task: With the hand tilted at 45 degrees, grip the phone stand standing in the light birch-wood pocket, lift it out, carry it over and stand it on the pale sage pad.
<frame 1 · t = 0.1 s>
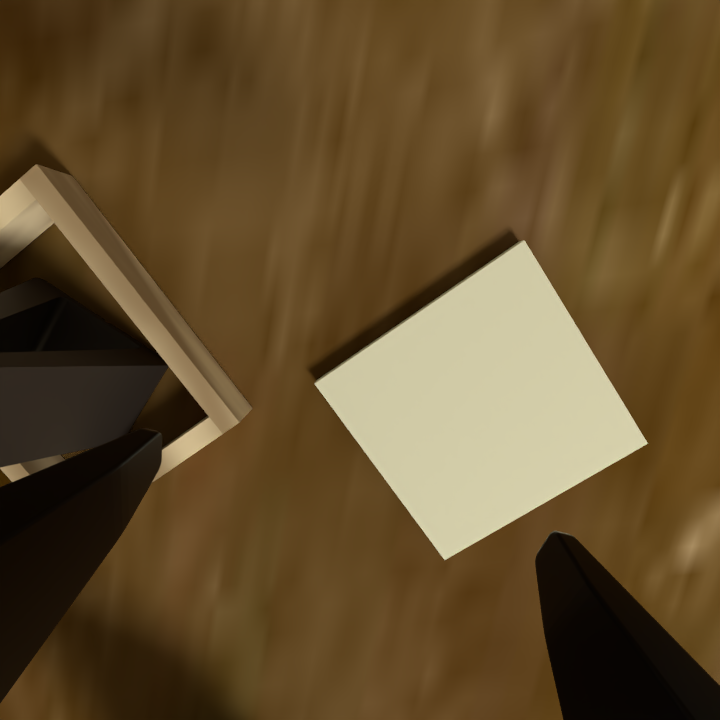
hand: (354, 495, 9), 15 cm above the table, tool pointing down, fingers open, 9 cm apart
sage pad: (477, 409, 25), on the table
birch pocket: (84, 361, 25), on the table
phone stand: (87, 360, 25), resting in birch pocket
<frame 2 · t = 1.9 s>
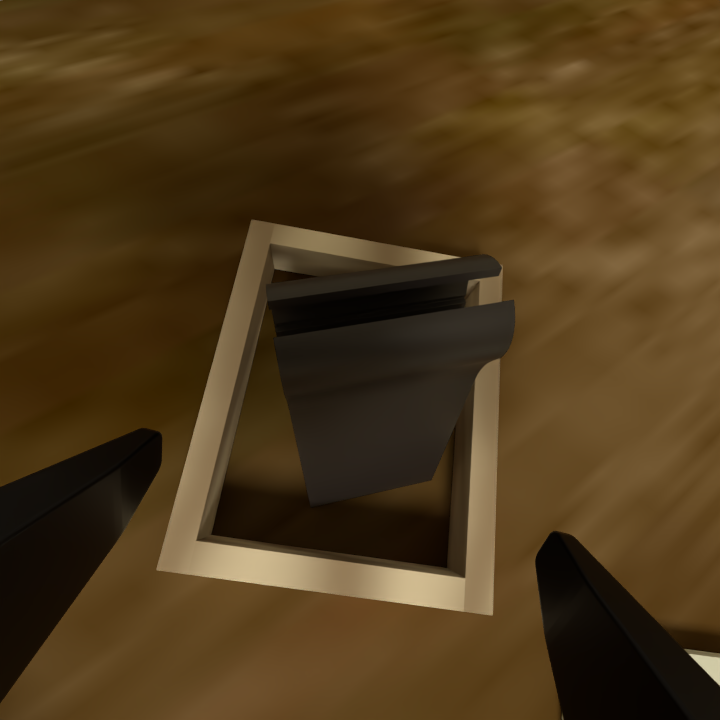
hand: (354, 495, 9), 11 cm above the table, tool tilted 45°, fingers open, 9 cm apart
birch pocket: (352, 404, 21), on the table
phone stand: (352, 405, 21), resting in birch pocket
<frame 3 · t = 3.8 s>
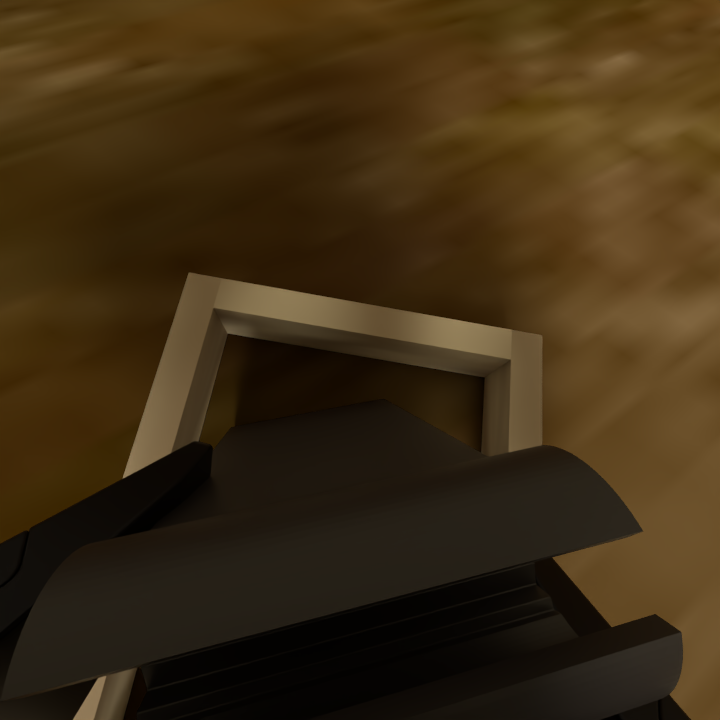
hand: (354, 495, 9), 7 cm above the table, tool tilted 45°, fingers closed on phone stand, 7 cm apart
birch pocket: (330, 533, 15), on the table
phone stand: (330, 533, 15), resting in birch pocket, touching gripper
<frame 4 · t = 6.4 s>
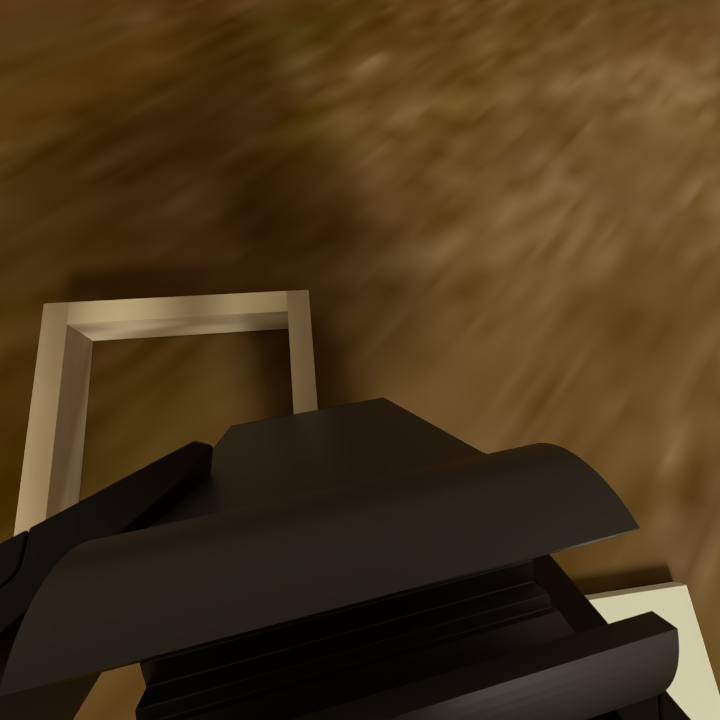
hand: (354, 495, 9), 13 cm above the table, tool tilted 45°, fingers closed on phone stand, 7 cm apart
birch pocket: (193, 458, 22), on the table
phone stand: (330, 531, 15), point 6 cm above the table, touching gripper
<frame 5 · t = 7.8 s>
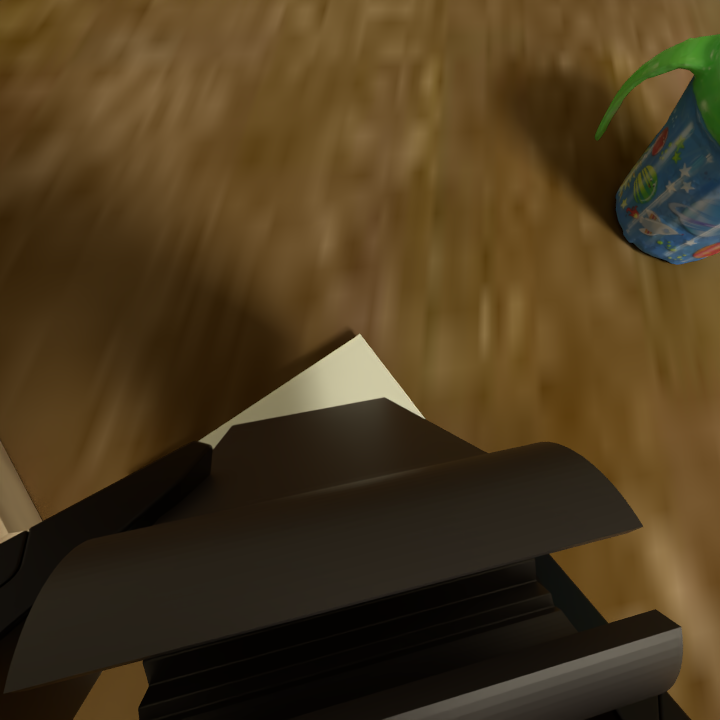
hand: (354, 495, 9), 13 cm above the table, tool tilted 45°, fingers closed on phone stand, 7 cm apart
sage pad: (330, 515, 21), on the table
snack cup: (656, 222, 29), on the table
phone stand: (331, 531, 15), point 6 cm above the table, touching gripper
when the fingers open (9 cm above the table, at t = 9.2 s): phone stand drops 1 cm, resting on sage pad.
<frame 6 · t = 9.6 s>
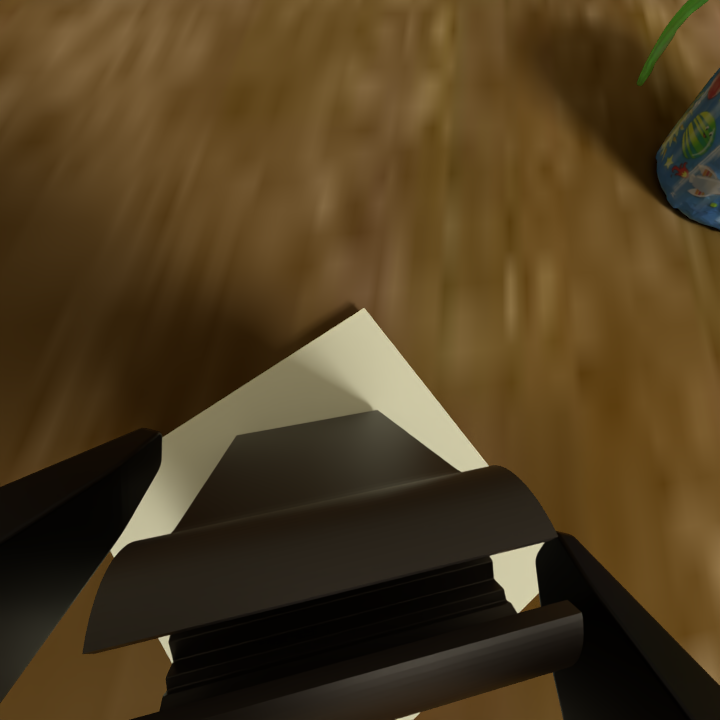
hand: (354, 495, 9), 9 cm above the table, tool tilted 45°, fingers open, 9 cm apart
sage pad: (328, 527, 17), on the table
snack cup: (702, 187, 25), on the table
phone stand: (326, 533, 16), point 1 cm above the table, touching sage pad
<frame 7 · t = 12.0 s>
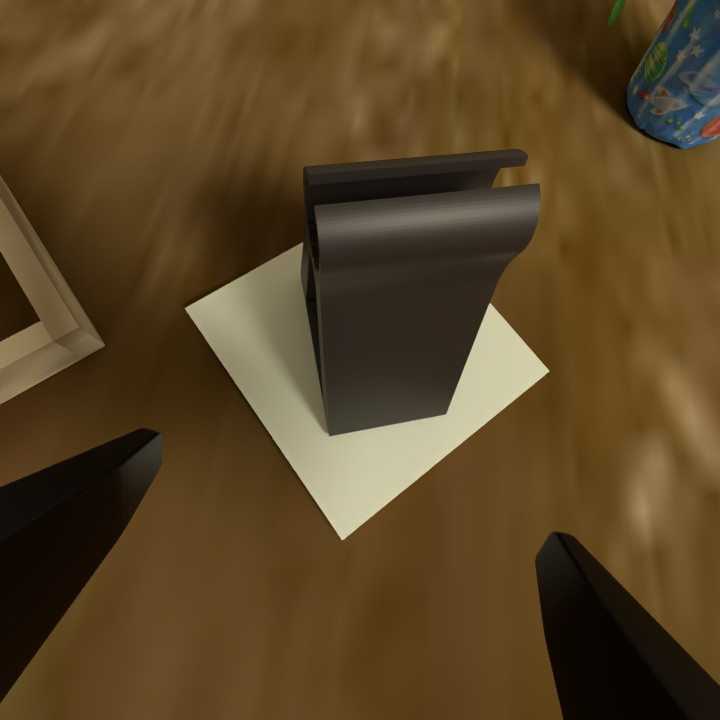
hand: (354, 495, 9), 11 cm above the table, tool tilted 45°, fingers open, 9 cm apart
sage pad: (369, 345, 23), on the table
snack cup: (664, 115, 31), on the table
phone stand: (369, 344, 22), point 1 cm above the table, touching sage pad
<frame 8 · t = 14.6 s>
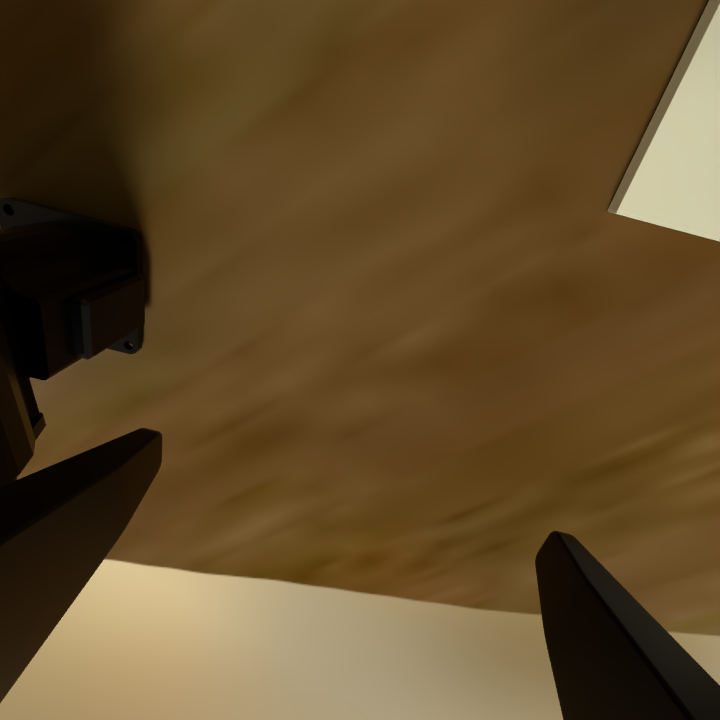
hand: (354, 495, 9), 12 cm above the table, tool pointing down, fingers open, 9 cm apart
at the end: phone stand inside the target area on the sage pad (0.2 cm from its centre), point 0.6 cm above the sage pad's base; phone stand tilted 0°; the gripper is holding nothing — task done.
